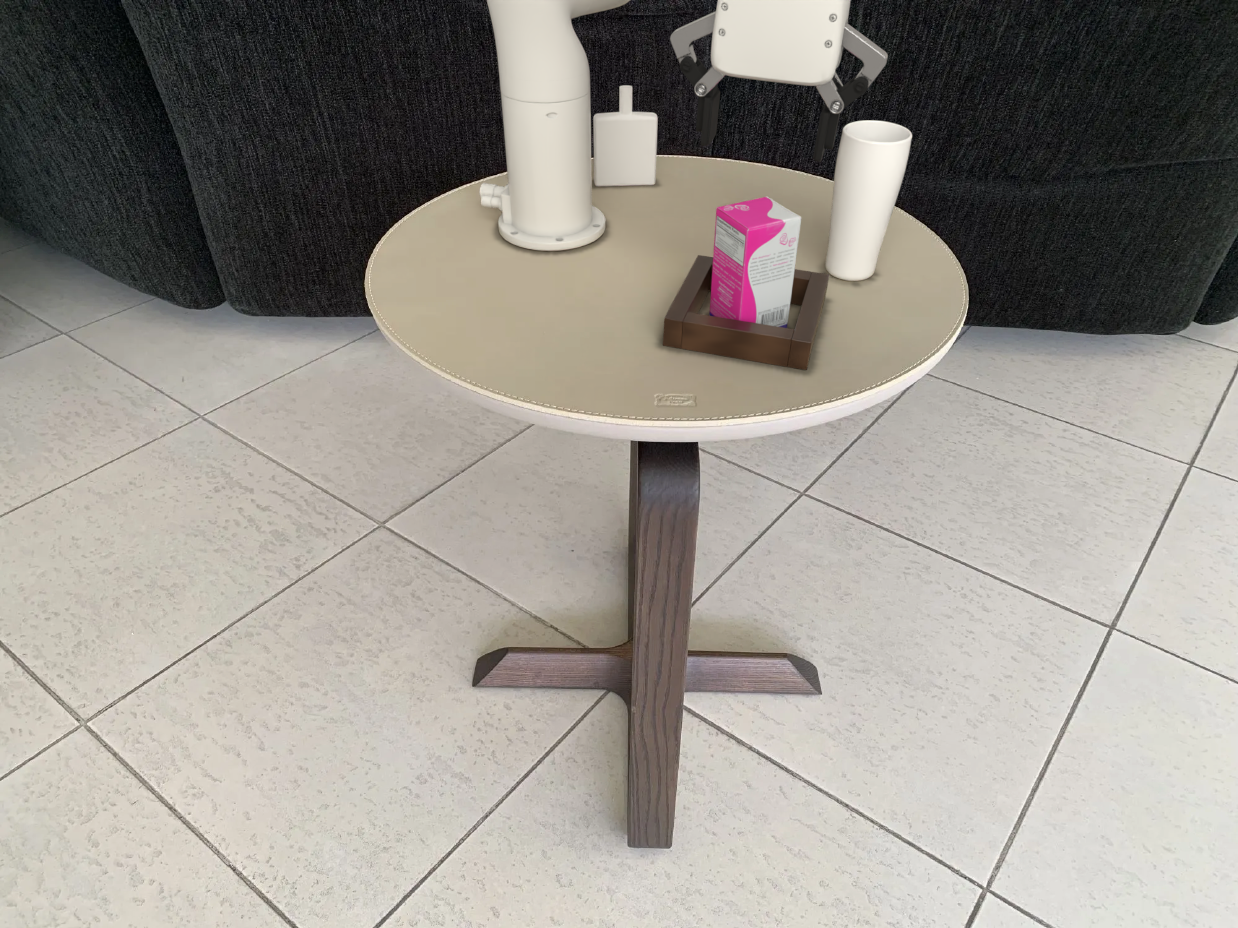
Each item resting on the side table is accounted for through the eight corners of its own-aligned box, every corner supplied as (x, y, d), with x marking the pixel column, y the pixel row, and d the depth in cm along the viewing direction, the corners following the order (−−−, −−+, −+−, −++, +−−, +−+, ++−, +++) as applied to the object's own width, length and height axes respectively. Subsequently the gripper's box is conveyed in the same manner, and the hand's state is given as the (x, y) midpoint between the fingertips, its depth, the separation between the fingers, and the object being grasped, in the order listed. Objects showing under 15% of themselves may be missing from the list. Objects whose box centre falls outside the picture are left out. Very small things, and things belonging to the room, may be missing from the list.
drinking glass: (835, 252, 94) (861, 115, 85) (891, 270, 91) (925, 129, 81) (806, 273, 90) (829, 132, 81) (863, 293, 87) (894, 148, 77)
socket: (662, 345, 79) (663, 318, 77) (696, 280, 89) (698, 254, 87) (806, 370, 76) (811, 342, 74) (824, 300, 86) (829, 274, 84)
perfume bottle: (654, 179, 110) (657, 83, 102) (656, 185, 109) (659, 88, 101) (593, 181, 110) (592, 85, 102) (594, 187, 108) (593, 89, 100)
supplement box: (755, 302, 85) (768, 194, 78) (788, 330, 81) (805, 218, 74) (706, 314, 83) (715, 204, 76) (737, 343, 79) (750, 229, 72)
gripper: (920, -86, 61) (868, 147, 73) (692, -103, 65) (676, 121, 76) (915, -70, 56) (860, 179, 67) (667, -89, 60) (654, 150, 71)
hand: (762, 148), depth 72 cm, fingers open, 9 cm apart
